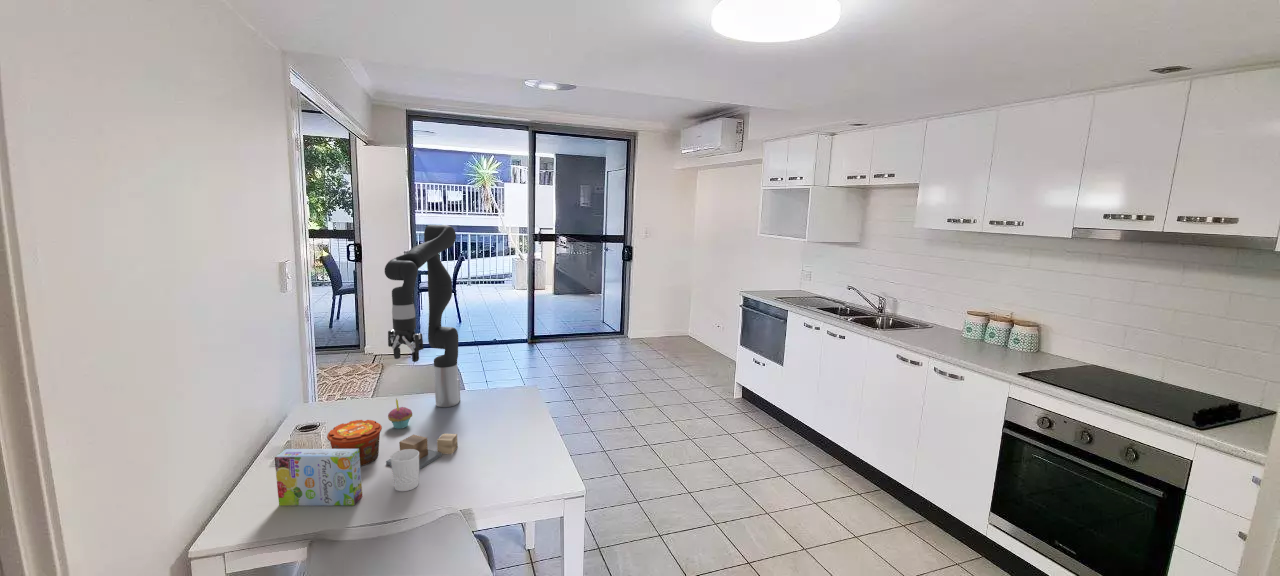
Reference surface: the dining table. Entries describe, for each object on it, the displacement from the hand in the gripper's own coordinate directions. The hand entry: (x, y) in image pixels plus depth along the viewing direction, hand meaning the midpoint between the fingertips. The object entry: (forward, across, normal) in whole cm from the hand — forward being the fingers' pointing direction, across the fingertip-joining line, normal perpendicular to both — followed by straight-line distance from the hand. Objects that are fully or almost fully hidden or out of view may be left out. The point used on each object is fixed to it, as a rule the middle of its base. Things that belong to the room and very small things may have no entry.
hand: (406, 359), depth 193 cm
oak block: (+28, -22, +5) cm, 36 cm away
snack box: (+28, -11, +44) cm, 54 cm away
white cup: (+28, -27, +28) cm, 48 cm away
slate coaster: (+28, -17, +15) cm, 36 cm away
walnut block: (+27, -17, +15) cm, 35 cm away
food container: (+28, +1, +22) cm, 36 cm away
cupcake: (+28, +8, -3) cm, 30 cm away
